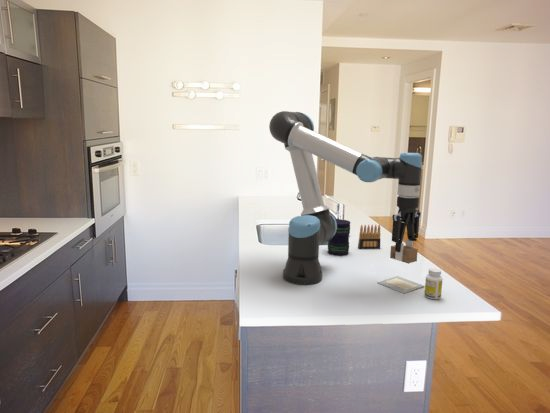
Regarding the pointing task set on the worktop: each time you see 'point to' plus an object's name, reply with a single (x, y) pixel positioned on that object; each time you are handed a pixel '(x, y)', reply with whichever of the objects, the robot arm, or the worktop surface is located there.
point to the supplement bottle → (433, 284)
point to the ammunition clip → (369, 238)
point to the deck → (406, 254)
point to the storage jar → (340, 239)
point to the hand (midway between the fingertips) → (403, 258)
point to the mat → (401, 284)
